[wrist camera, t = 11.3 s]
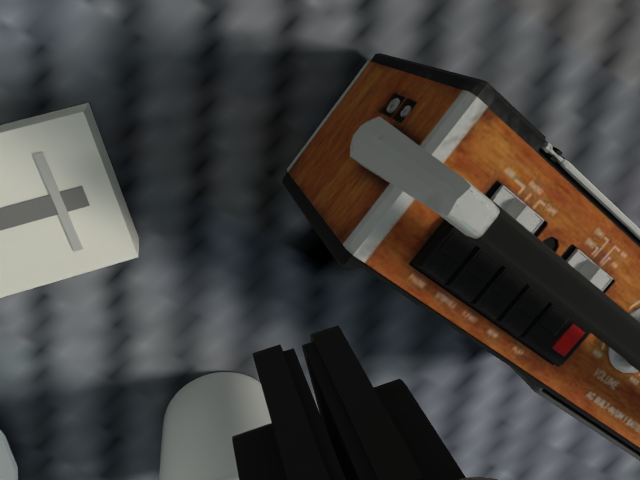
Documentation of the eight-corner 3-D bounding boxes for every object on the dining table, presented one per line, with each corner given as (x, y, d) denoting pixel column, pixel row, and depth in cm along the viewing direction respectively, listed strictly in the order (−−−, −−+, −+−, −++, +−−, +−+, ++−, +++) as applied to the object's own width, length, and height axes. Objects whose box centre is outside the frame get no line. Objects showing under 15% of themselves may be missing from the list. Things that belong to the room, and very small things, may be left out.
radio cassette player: (262, 165, 40) (352, 307, 22) (359, 33, 38) (543, 68, 20) (536, 356, 52) (740, 549, 34) (619, 261, 50) (878, 411, 32)
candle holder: (130, 452, 45) (124, 596, 34) (186, 344, 43) (198, 461, 32) (249, 481, 49) (276, 619, 38) (305, 383, 47) (351, 499, 36)
